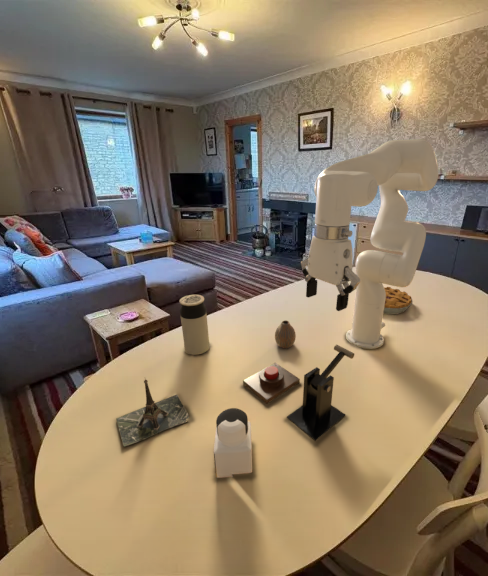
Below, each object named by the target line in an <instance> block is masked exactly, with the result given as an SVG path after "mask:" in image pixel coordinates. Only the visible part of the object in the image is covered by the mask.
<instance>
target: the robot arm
mask: <svg viewBox="0 0 488 576" xmlns="http://www.w3.org/2000/svg"><path fill="white" fill-rule="evenodd" d="M439 172H440V171H439V164H438V160H437V157H436V152H435V149H434V147H433V145H432V143H430V141H428V140H427V139H424V138H414V139H412V138H411V139H393V140H388V141H386V142H383V143H382V144H381V145H379V146H378V147H377V148H375V149H373V150H372V151H370V152H369V153H366V154H362V155H359V156H355V157H351V158H347V159H344V160H341V161H338V162H336V163H333V164H331V165H330V166H328V167H326V168H324V169H323V170H322V171H321V172H320V173H319V174H318V176H317V178H316V179H315V181H314V186H313V191H314V196H315V197H316V199H315V202H316V203H315V216H314V231H313V236H312V238H311V241H310V245H309V246H310V247H309V252H308V258H307V259H304V260H301V261H300V266H301V269H302V270H301V271H302V272H301V273H302V274H303V276H304V281H305V282H306V288H305V289H306V290H305V297H306V298H311V297H314V296H317V294H318V280H319V281H322V282H324V283H328V284H331V285H333V286H335V287H336V289H337V291H338V293H339V294H337V295H336V304H335V305H336V306H335V310H336V311H337V312H341V311H343V310H345V309H347V307H348V305H349V296H350V294H352V292H354V291H355V294H354V302H353V312H352V319H351V320H352V321H351V322H352V323H351V328H350V329H348V330H347V331H346V334H345V338H346V340H347V342H349V344H351V345H352V346H354V347H357V348H360V349H363V350H364V349H365V350H375V349H378V348H381V347H382V346H383V345H384V343H385V338H384V335H382V334H381V330H382V329H384V328H385V327H386V323H385V322H384V321H383V317H384V313H383V312H384V305H385V299H386V292H385V289H384V287H385V286H384V285H388V286H391V287H396V288H407V287H409V286H410V285H411V283H412V282H413V280H414V277H415V275H416V272H417V268H418V266H419V262H420V259H421V256H422V253H423V250H424V247H425V244H426V238H427V229H426V227H425V226H424V225H423V224H422V223H419V222H416V221H408V220H406V218H407V216H408V213H409V205H408V202H407V200H406V198H405V197H404V195H402V193H401V191H411V192H428V191H430V190H432V189H433V188H434V187H435V186H436V185H437V183H438V179H439V174H440V173H439ZM378 191H379V197H380V207H379V210H378V213H377V216H376V219H375V222H374V225H373V227H372V230H371V234H370V240H369V241H370V244H371V246H373V247H374V248H377V249H380V250H374V249H367V250H363V251H361V252H360V253H359V254H358V255H357V257H356V259H355V266H354V268H355V272H354V271H353V263H354V262H353V255H354V254H353V244H352V240H351V239H349V238H351V237H352V236H353V230H350V223H351V217H352V216H351V213H352V207H356V208H358V207H359V208H360V207H361V208H362V207H366V206H368V205H370V204H371V203H372V202H373V201H374V200H375V198H376V197H377V194H378ZM381 250H385V251H381ZM387 251H391V252H395V253H391V252H387ZM398 253H402V254H398ZM349 282H350V283H349ZM383 284H384V285H383Z"/></svg>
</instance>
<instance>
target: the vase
mask: <svg viewBox="0 0 488 576" xmlns="http://www.w3.org/2000/svg"><path fill="white" fill-rule="evenodd" d="M296 337H297V334H296V330H295V328H294V327H293V326H292V325H291V323H290V321H289V320H282V321H281V322H280V324H279V326H277V327H276V330H275V332H274V340H275V344H277V346H279V347H280V348H282V349H289V348H292V347H293V345H294V344H295V342H296Z"/></svg>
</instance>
